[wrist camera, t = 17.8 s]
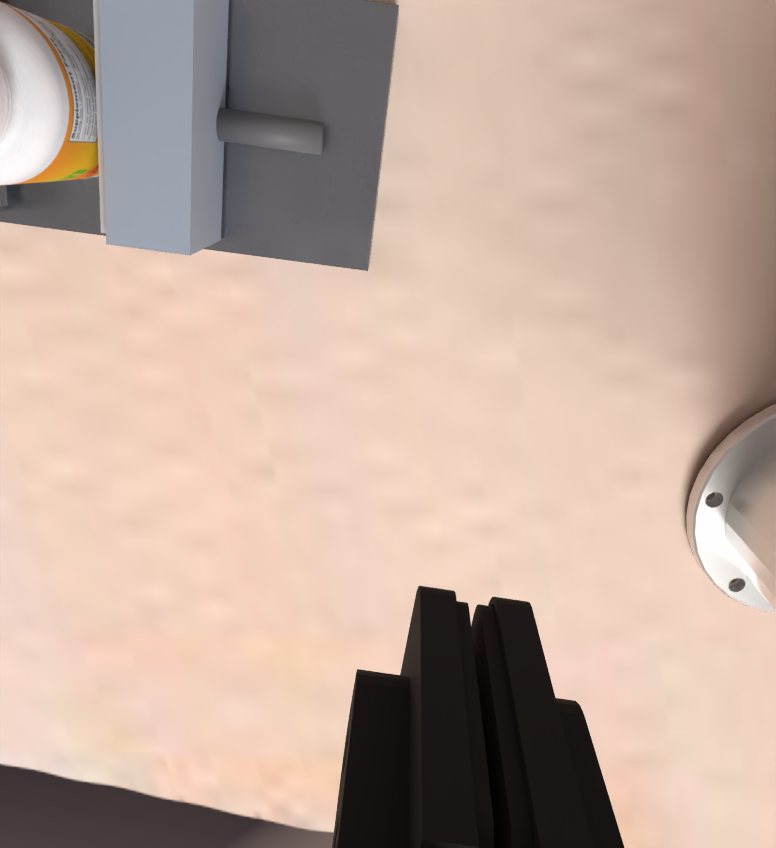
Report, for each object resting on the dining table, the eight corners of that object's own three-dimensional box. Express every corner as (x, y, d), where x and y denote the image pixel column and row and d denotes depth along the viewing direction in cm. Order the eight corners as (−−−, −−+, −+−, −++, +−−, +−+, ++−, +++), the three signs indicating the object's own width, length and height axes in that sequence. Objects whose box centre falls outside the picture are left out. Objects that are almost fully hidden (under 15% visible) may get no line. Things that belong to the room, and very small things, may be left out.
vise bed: (398, 13, 26) (398, -25, 21) (369, 265, 30) (362, 290, 25) (-59, -55, 26) (-184, -111, 20) (-31, 211, 30) (-130, 224, 24)
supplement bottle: (16, 173, 28) (-170, 182, 19) (-3, 24, 26) (-222, -47, 17) (146, 183, 28) (24, 197, 19) (137, 35, 26) (-5, -29, 17)
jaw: (335, 10, 25) (322, -20, 21) (314, 252, 28) (299, 269, 24) (137, -20, 25) (84, -55, 20) (140, 229, 28) (95, 242, 24)
